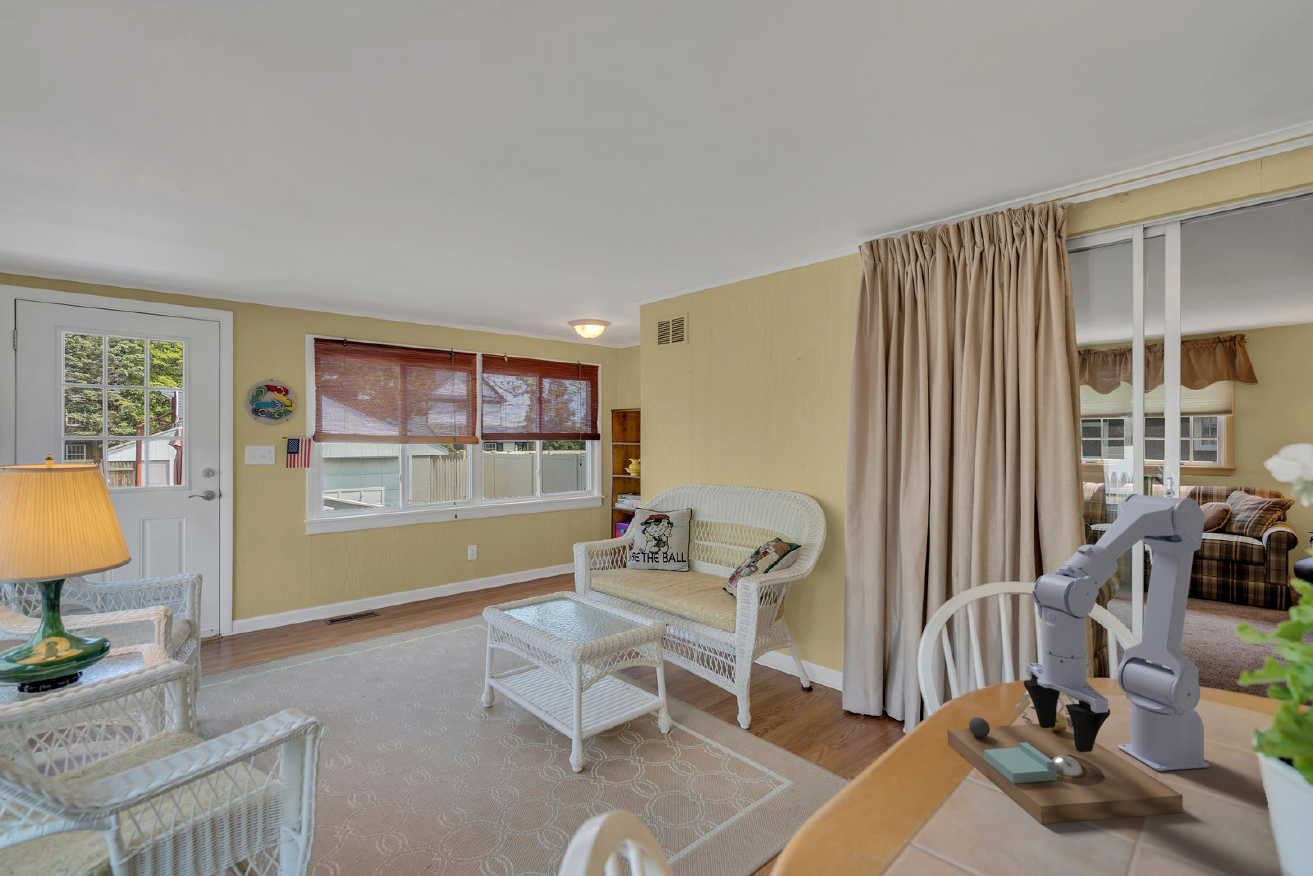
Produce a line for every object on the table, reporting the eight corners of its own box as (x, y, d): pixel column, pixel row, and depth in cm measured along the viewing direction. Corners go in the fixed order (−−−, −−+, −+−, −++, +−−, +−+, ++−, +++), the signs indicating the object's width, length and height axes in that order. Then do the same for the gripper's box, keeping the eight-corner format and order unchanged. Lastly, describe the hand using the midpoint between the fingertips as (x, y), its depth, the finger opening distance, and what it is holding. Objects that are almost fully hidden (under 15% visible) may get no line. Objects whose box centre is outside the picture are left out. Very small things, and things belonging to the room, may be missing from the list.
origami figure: (1034, 700, 128) (1034, 676, 128) (1079, 715, 121) (1079, 690, 121) (1001, 713, 122) (1001, 688, 122) (1045, 731, 115) (1045, 704, 115)
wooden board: (1062, 736, 113) (1062, 722, 113) (1182, 812, 90) (1182, 795, 90) (947, 743, 110) (947, 729, 110) (1041, 824, 88) (1040, 806, 88)
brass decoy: (1058, 726, 111) (1058, 708, 111) (1072, 735, 108) (1072, 716, 108) (1041, 727, 111) (1041, 709, 111) (1055, 736, 108) (1055, 717, 108)
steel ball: (1079, 750, 98) (1094, 779, 94) (1068, 763, 100) (1081, 792, 97) (1050, 749, 98) (1064, 779, 94) (1040, 762, 100) (1053, 791, 97)
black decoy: (982, 731, 110) (982, 713, 110) (993, 740, 106) (993, 721, 106) (965, 732, 109) (964, 714, 109) (976, 741, 106) (976, 722, 106)
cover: (1024, 756, 101) (1024, 741, 101) (1056, 780, 94) (1056, 763, 94) (983, 759, 100) (983, 743, 100) (1013, 783, 93) (1013, 766, 93)
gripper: (1009, 638, 104) (1010, 719, 105) (1076, 671, 90) (1077, 764, 90) (1048, 636, 105) (1049, 716, 105) (1120, 668, 91) (1122, 761, 91)
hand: (1065, 738), depth 98 cm, fingers open, 7 cm apart
